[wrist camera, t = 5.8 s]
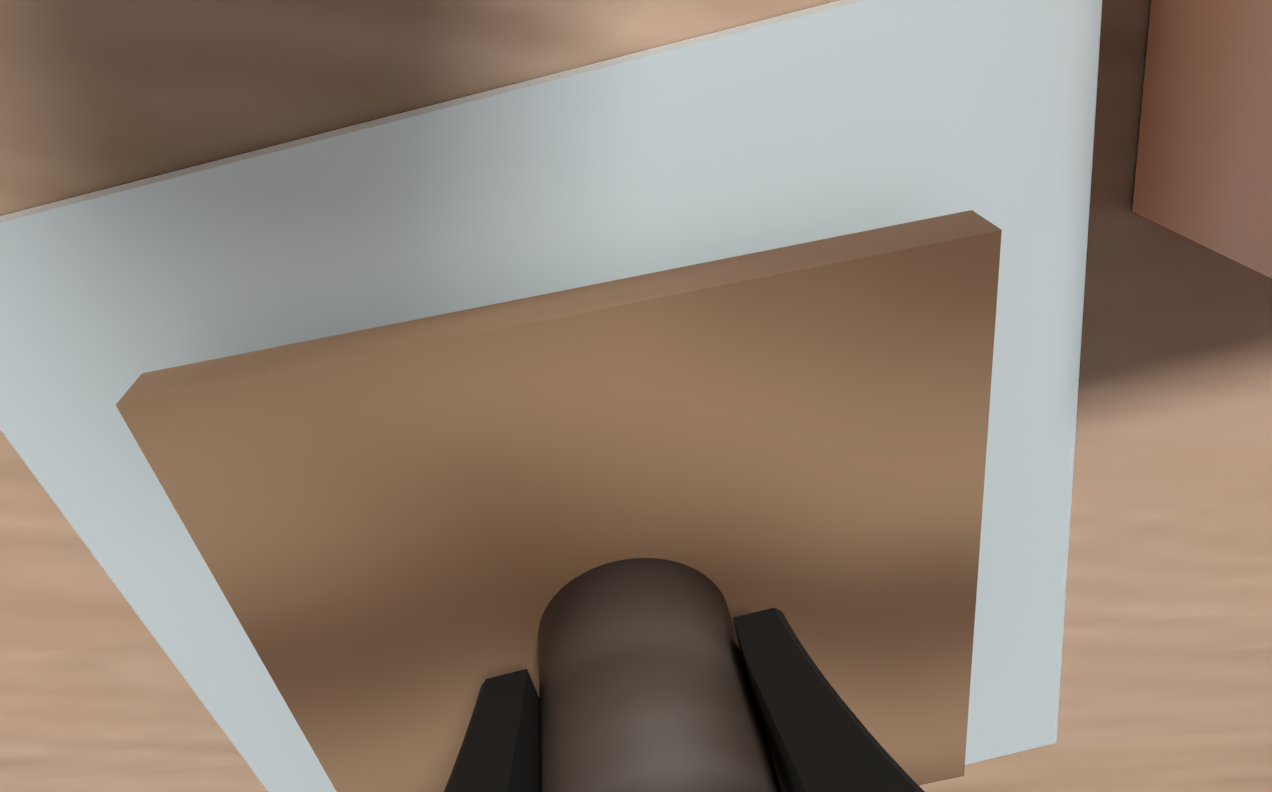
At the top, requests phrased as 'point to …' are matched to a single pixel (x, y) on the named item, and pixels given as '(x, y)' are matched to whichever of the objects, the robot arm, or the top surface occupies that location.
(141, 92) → the top surface
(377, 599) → the lid
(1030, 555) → the mat
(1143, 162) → the shallow cardboard tray
